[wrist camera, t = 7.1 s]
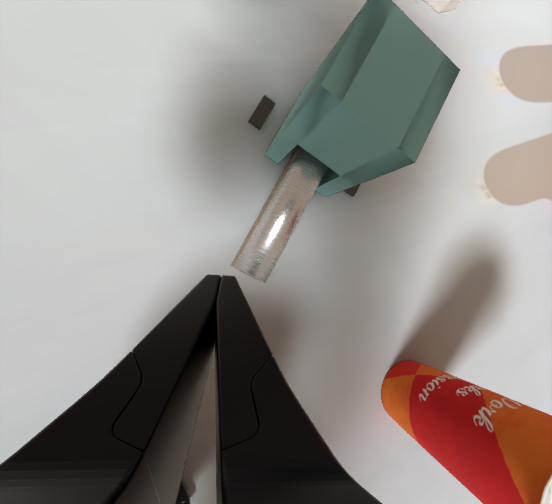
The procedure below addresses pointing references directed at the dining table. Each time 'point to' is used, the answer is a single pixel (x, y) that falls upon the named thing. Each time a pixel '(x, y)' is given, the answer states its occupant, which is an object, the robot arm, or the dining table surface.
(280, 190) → the pipe rig
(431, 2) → the pepper shaker
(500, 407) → the paper cup
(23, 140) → the dining table surface
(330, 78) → the teal notched block
